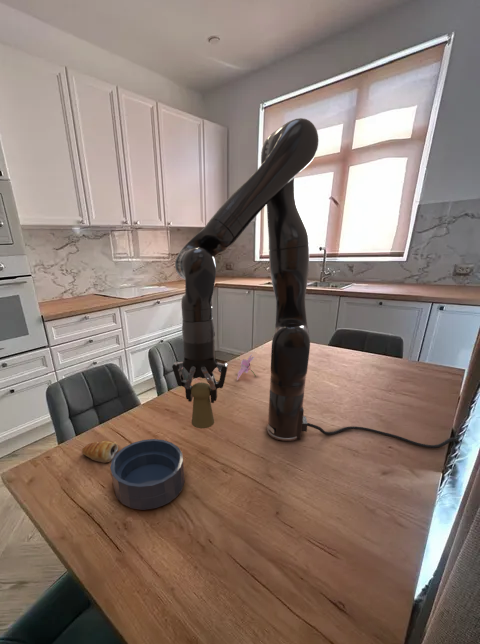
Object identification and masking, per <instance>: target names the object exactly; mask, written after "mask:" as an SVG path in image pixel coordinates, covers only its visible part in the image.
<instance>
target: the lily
mask: <svg viewBox="0 0 480 644" xmlns="http://www.w3.org/2000/svg"><path fill="white" fill-rule="evenodd" d="M252 355H253V353H250V355H249V356H248V358H247V359H246V358H243V359H242V360H241V362H240V369H239V370H238V372H237V373H236V375H237V377H236V381H238V380H239V379H240V377H241V376H242V374H244V373H245V374H248V373H249V371H250V372H252V374H253V375H254V377H256V376H257V375H256V374H255V373H254V371H253V370H252V369H251V362H252V361H253V360H254V358H255V356H252Z"/></svg>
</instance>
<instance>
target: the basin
mask: <svg viewBox="0 0 480 644" xmlns="http://www.w3.org/2000/svg"><path fill="white" fill-rule="evenodd" d="M110 462H111V463H110V466H109V469H110V473H111V480H112V485H113V490H114V494H115V498H116V499H117V500H118V501H119V502H120V503H121V504H122V505H124V506H126V507H127V508H130V509H134V510H142V511H145V510H155V509H158V508H161V507H163V506H166V505H168V504H170V503H171V502H172V501H174V500H175V499H176V498H177V497H179V495H180V493H181V492H182V490H183V488H184V485H185V482H186V481H185V468H184V455H183V452H182V451H181V449H180V447H178V446H177V445H176V444H174V443H173V442H171V441H169V440H165V439H158V438H150V439H142V440H138V441H135V442H134V441H133V442H131V443H130V444H127V445H126V446H124V447H122V448H121V449H120V450H118V451H117V452H116V453H115V454H114V457H113V458H112V460H111V461H110Z"/></svg>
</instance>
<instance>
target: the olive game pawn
mask: <svg viewBox="0 0 480 644" xmlns="http://www.w3.org/2000/svg"><path fill="white" fill-rule="evenodd" d="M191 386H192V388H191V394H192V396H193V399H192V414H191V425H192V426H193V427H194V428H197V429H209V428H211V427H212V426H213V425H214V424H215V417H214V412H213V407H212V403H211V393H210V390H211V387H210V385H209V383H208V382H202V381H201V382H196V383H193V385H191Z"/></svg>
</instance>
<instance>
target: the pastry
mask: <svg viewBox="0 0 480 644" xmlns="http://www.w3.org/2000/svg"><path fill="white" fill-rule="evenodd" d="M81 449H82V450H81V451H82V454H83V455H84V456H85V457H86V458H88V459H90V460H92V461H95V462H100V463H110V462H112V459H113V458H114V456H115V455H116V454H117V453H118V452H119V446H118V444H117V442H115V441H108V440H102V441H94V442H91V443H88V444H86V445H85V446H84V447H83V448H81Z"/></svg>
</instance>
